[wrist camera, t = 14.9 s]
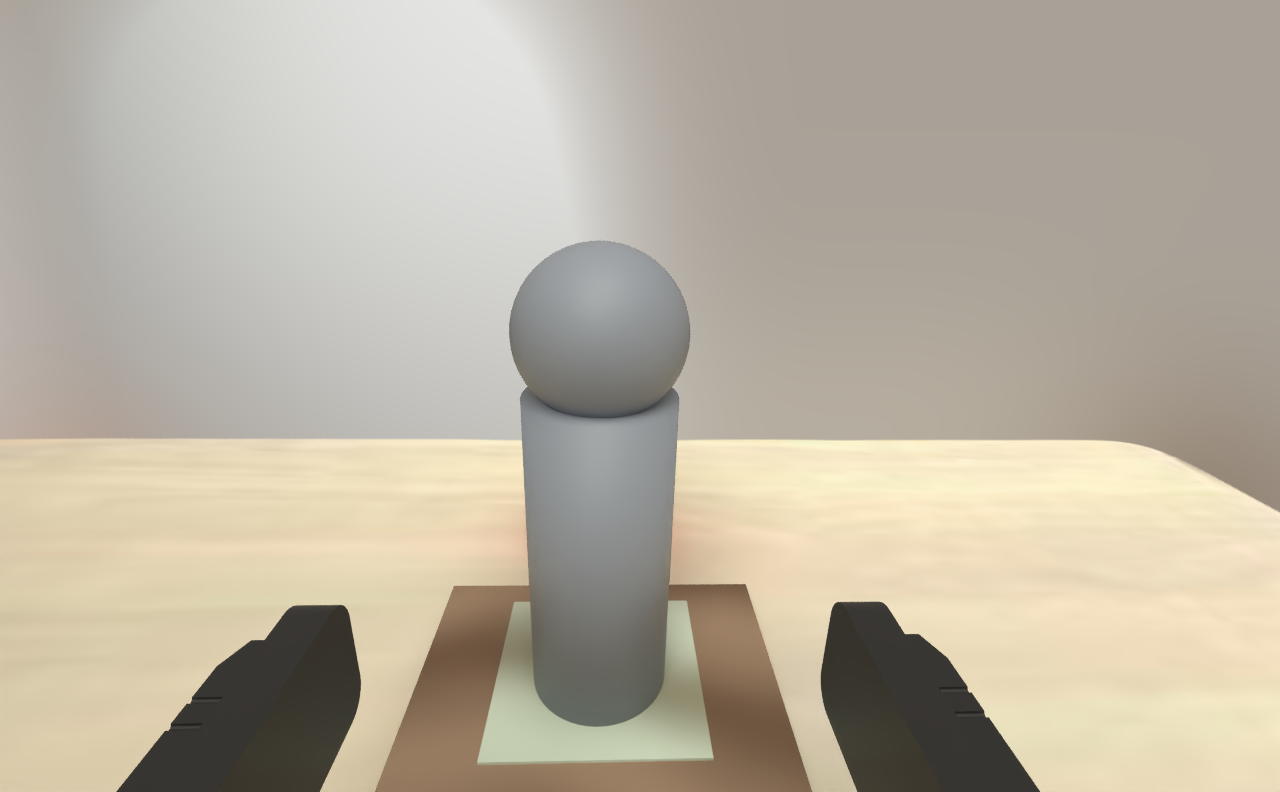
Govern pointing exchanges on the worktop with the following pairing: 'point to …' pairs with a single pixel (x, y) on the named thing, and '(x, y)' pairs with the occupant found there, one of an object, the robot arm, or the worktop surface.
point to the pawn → (599, 473)
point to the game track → (583, 755)
